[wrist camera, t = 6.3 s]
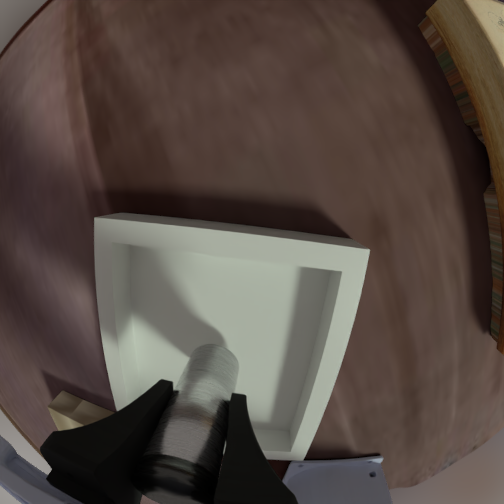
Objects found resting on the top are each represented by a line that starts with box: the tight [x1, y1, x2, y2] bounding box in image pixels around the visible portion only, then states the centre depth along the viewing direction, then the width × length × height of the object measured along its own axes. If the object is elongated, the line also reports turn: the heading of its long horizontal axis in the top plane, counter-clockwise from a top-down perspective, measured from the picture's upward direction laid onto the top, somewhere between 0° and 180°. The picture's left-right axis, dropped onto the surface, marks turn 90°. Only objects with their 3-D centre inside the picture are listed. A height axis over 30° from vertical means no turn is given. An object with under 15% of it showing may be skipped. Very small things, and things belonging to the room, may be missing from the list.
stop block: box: [47, 390, 115, 431], centre depth 19 cm, size 10×10×3 cm
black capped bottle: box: [131, 344, 239, 504], centre depth 11 cm, size 3×3×9 cm
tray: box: [94, 213, 370, 461], centre depth 16 cm, size 14×16×3 cm
